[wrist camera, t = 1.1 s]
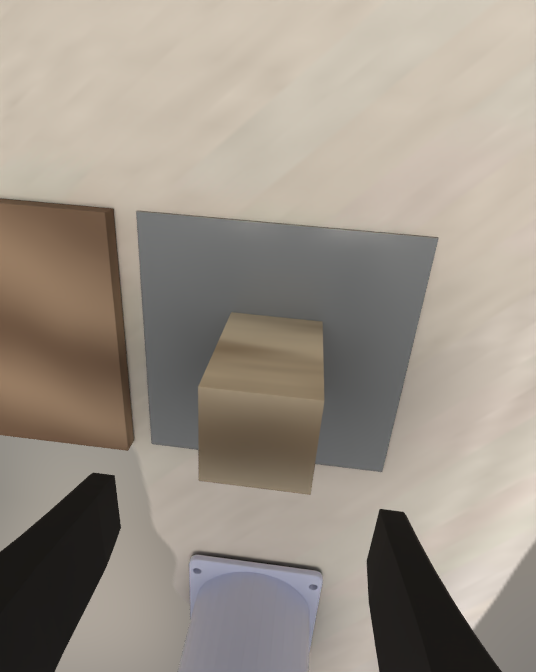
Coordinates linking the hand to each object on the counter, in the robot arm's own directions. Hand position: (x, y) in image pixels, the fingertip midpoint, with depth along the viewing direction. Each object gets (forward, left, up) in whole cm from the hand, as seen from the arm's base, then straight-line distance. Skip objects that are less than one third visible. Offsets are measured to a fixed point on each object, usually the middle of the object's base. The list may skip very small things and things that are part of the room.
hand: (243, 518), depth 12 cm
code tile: (0, 0, -9) cm, 9 cm away
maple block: (0, 0, -9) cm, 9 cm away
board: (0, +13, -9) cm, 16 cm away
